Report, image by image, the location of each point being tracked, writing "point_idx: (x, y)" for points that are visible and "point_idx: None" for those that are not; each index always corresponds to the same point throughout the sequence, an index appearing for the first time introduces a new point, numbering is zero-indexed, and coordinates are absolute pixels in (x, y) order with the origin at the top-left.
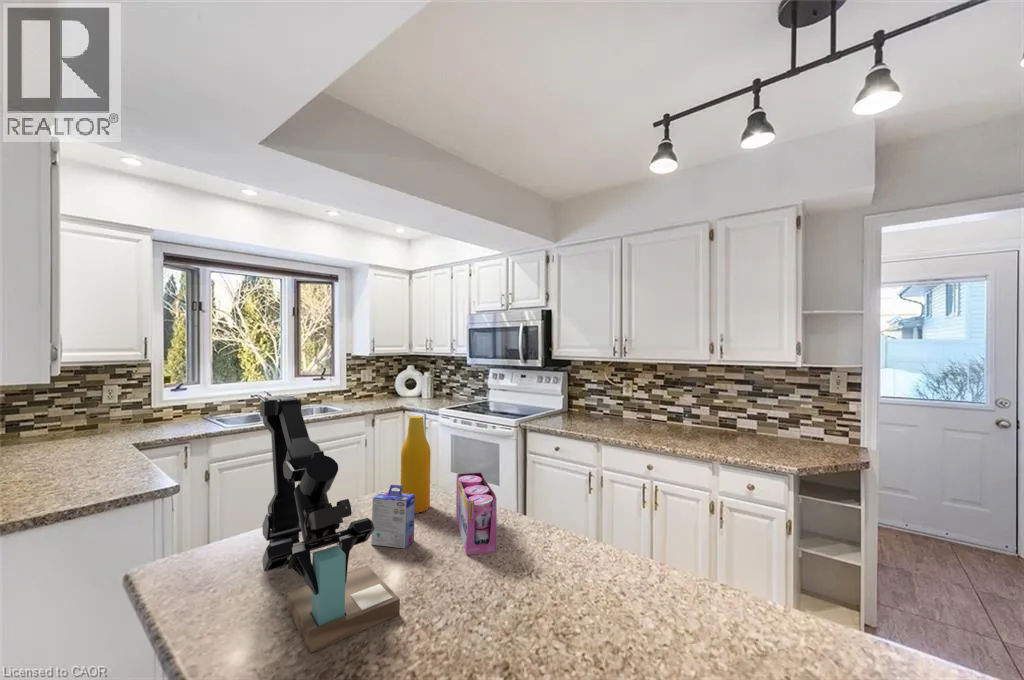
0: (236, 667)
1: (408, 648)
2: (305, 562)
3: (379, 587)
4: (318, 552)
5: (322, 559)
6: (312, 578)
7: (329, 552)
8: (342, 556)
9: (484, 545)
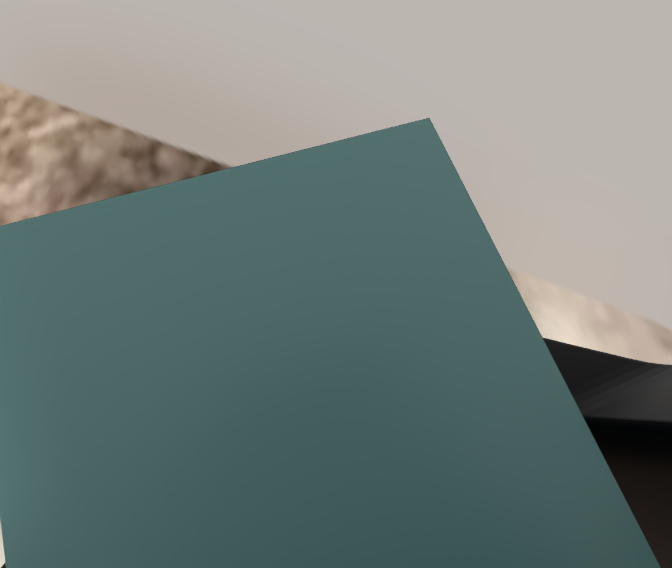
0: (548, 296)
1: (45, 193)
2: (627, 380)
3: (3, 560)
4: (533, 521)
5: (403, 190)
6: None
7: (293, 443)
8: (55, 221)
9: None
